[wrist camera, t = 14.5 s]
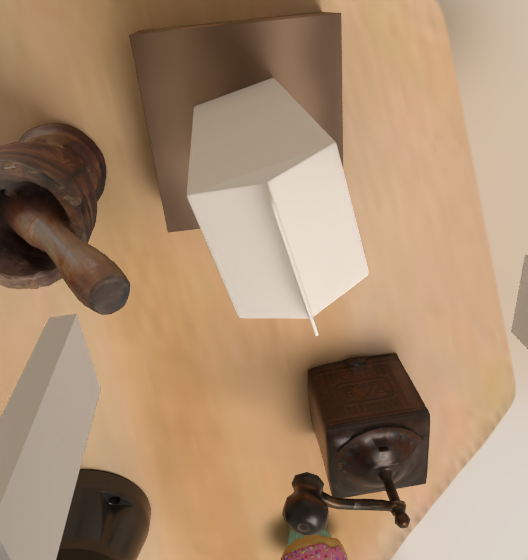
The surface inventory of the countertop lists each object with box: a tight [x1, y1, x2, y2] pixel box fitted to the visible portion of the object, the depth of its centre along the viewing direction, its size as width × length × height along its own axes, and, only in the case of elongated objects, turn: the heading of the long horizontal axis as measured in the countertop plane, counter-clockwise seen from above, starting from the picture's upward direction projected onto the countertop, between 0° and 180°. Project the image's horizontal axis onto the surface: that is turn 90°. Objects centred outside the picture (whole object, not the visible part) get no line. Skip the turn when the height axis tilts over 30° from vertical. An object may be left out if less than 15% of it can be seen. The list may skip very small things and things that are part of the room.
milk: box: [187, 78, 369, 336], centre depth 27 cm, size 6×6×22 cm
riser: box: [129, 12, 343, 232], centre depth 39 cm, size 14×14×6 cm
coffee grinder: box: [282, 354, 430, 536], centre depth 50 cm, size 16×11×18 cm
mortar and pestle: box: [0, 124, 130, 315], centre depth 34 cm, size 12×9×20 cm
